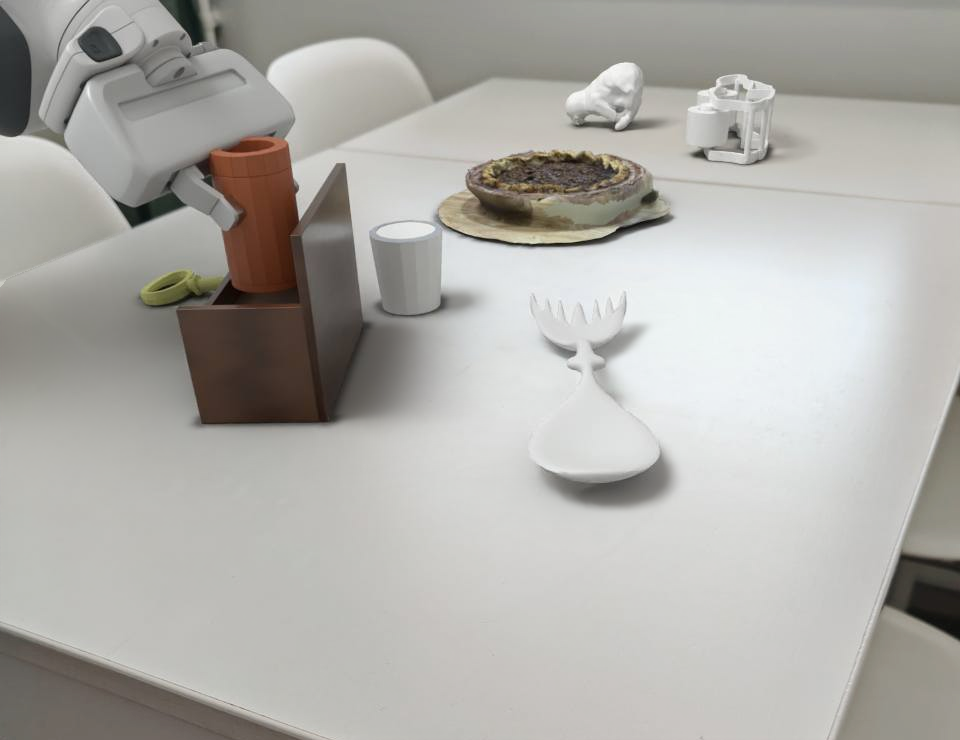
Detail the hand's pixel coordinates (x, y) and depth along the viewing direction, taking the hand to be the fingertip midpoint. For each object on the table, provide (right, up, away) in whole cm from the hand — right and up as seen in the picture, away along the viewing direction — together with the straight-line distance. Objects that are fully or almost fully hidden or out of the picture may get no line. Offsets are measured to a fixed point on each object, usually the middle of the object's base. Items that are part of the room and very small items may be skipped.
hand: (264, 210), depth 77 cm
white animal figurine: (+36, +46, +77) cm, 96 cm away
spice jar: (0, -4, +4) cm, 6 cm away
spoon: (+25, -15, +1) cm, 29 cm away
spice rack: (0, -10, +8) cm, 13 cm away
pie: (+25, +18, +43) cm, 53 cm away
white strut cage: (+52, +36, +64) cm, 90 cm away
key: (-12, +2, +24) cm, 27 cm away
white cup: (+10, -1, +20) cm, 22 cm away
